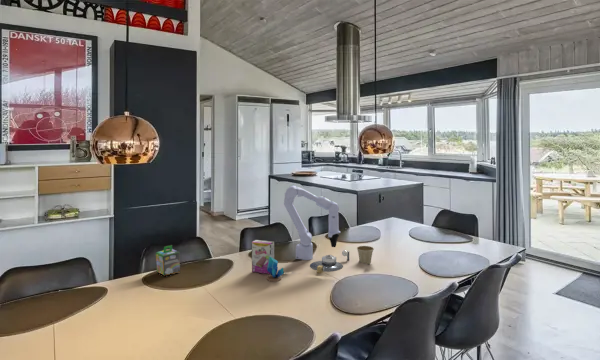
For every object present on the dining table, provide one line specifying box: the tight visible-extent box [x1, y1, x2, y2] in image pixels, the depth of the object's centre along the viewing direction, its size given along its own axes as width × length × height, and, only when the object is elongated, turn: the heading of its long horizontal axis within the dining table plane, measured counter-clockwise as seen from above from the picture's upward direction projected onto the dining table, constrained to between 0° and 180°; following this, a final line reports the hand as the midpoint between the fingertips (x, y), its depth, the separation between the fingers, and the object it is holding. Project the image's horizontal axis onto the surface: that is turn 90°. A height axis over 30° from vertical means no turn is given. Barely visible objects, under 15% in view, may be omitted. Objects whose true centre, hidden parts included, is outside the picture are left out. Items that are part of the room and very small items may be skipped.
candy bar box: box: [251, 239, 275, 275], centre depth 193 cm, size 11×5×16 cm, turn 71°
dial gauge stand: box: [341, 249, 350, 261], centre depth 209 cm, size 5×4×7 cm
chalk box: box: [155, 244, 181, 275], centre depth 193 cm, size 9×9×15 cm
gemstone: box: [266, 257, 284, 282], centre depth 183 cm, size 7×9×12 cm
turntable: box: [309, 260, 344, 274], centre depth 198 cm, size 18×21×4 cm
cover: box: [321, 254, 337, 265], centre depth 204 cm, size 8×8×4 cm
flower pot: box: [356, 245, 375, 265], centre depth 206 cm, size 9×9×9 cm
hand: (333, 246), depth 211 cm, fingers closed
